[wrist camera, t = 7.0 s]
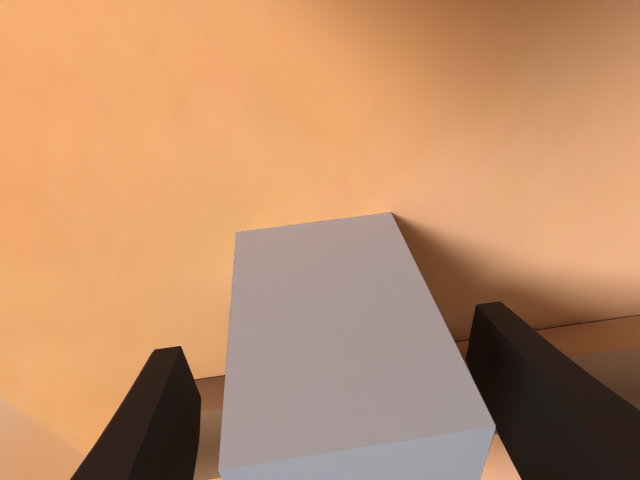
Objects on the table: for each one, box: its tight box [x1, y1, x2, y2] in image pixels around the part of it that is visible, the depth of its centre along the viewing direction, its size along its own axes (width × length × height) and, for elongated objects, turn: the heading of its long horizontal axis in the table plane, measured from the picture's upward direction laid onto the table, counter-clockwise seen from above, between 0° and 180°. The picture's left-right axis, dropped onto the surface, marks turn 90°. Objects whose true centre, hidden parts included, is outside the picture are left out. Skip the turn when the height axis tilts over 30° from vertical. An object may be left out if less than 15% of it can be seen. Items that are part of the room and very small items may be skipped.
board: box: [193, 315, 640, 480], centre depth 15 cm, size 4×22×1 cm, turn 94°
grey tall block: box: [218, 212, 496, 480], centre depth 12 cm, size 10×4×6 cm, turn 4°
